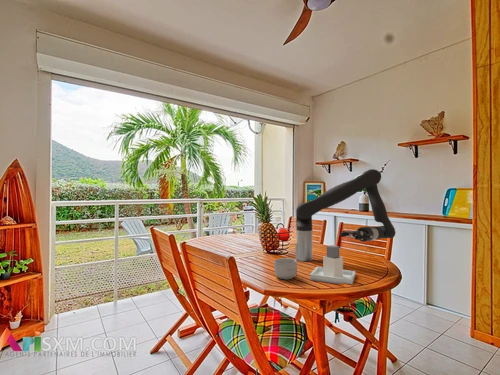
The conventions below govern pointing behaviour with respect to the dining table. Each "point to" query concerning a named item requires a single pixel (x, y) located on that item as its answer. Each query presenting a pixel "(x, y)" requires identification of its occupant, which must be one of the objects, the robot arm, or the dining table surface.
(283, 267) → the teacup
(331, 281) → the tray
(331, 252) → the block
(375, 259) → the dining table surface
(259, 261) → the dining table surface
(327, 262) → the beige rectangular block
